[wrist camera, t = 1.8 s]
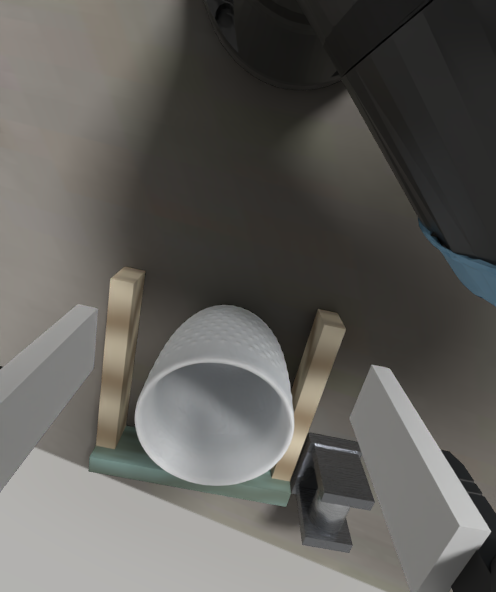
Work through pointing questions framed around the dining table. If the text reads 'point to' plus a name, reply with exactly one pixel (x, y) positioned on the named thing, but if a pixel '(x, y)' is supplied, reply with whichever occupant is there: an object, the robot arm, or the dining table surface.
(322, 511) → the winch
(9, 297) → the dining table surface
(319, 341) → the bay
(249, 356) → the mug
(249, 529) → the dining table surface
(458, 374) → the dining table surface
